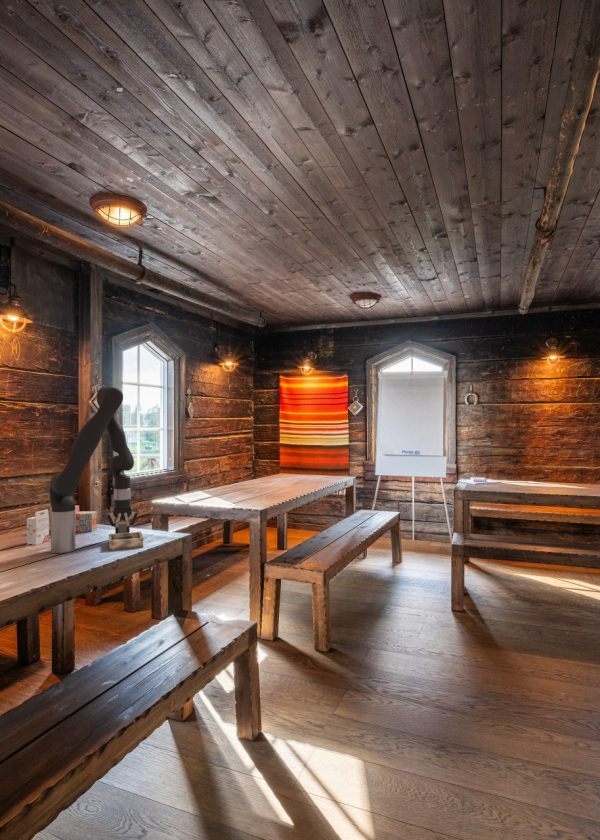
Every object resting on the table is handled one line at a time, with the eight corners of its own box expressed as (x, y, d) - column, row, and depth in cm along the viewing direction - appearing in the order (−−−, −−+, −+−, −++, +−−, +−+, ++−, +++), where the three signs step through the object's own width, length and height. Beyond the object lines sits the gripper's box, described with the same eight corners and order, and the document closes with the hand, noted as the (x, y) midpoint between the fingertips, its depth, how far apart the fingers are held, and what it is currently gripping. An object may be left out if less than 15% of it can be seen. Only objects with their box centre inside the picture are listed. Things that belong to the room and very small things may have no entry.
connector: (118, 540, 225) (118, 521, 225) (118, 538, 228) (118, 519, 228) (126, 539, 226) (126, 520, 226) (126, 538, 230) (126, 519, 230)
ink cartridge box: (39, 540, 226) (40, 508, 226) (49, 540, 225) (49, 508, 225) (26, 544, 218) (26, 511, 218) (35, 545, 217) (35, 512, 217)
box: (109, 550, 208) (109, 541, 208) (108, 543, 220) (108, 534, 220) (143, 547, 213) (143, 538, 213) (141, 540, 225) (141, 531, 225)
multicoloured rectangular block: (97, 529, 249) (97, 505, 249) (91, 532, 242) (91, 507, 242) (56, 529, 249) (56, 505, 249) (49, 531, 243) (49, 507, 243)
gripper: (106, 500, 221) (106, 537, 221) (138, 498, 226) (138, 535, 226) (106, 497, 228) (106, 534, 228) (137, 496, 233) (137, 531, 233)
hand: (122, 534), depth 227 cm, fingers closed on connector, 3 cm apart
